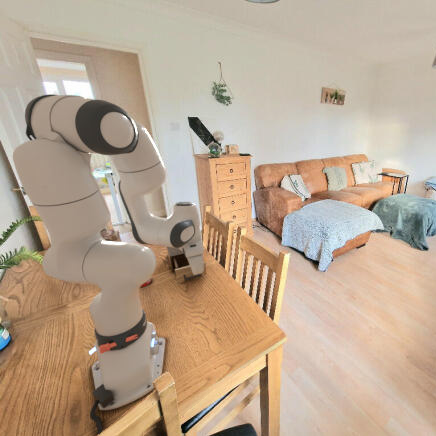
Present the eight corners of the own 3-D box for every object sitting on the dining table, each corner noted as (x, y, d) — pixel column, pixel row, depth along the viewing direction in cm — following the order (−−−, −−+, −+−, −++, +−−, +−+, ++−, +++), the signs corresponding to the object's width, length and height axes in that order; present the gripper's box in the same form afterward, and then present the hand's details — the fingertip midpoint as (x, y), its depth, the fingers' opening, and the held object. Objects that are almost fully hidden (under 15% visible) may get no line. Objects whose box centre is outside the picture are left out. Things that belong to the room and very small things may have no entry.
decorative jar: (125, 254, 124) (117, 223, 118) (125, 265, 116) (116, 232, 109) (96, 260, 118) (86, 227, 111) (94, 272, 109) (82, 237, 102)
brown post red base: (151, 284, 104) (146, 262, 99) (136, 288, 101) (130, 266, 96) (150, 277, 108) (146, 256, 104) (136, 281, 105) (130, 259, 101)
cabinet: (202, 264, 119) (200, 249, 116) (172, 272, 112) (169, 256, 109) (195, 249, 132) (193, 235, 129) (167, 255, 125) (165, 241, 122)
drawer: (208, 280, 106) (207, 267, 104) (178, 289, 100) (176, 275, 98) (198, 259, 122) (197, 247, 119) (172, 265, 115) (170, 253, 113)
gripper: (177, 232, 98) (181, 260, 104) (186, 256, 83) (191, 287, 88) (193, 229, 101) (197, 256, 107) (205, 251, 86) (208, 282, 91)
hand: (194, 270), depth 97 cm, fingers closed
